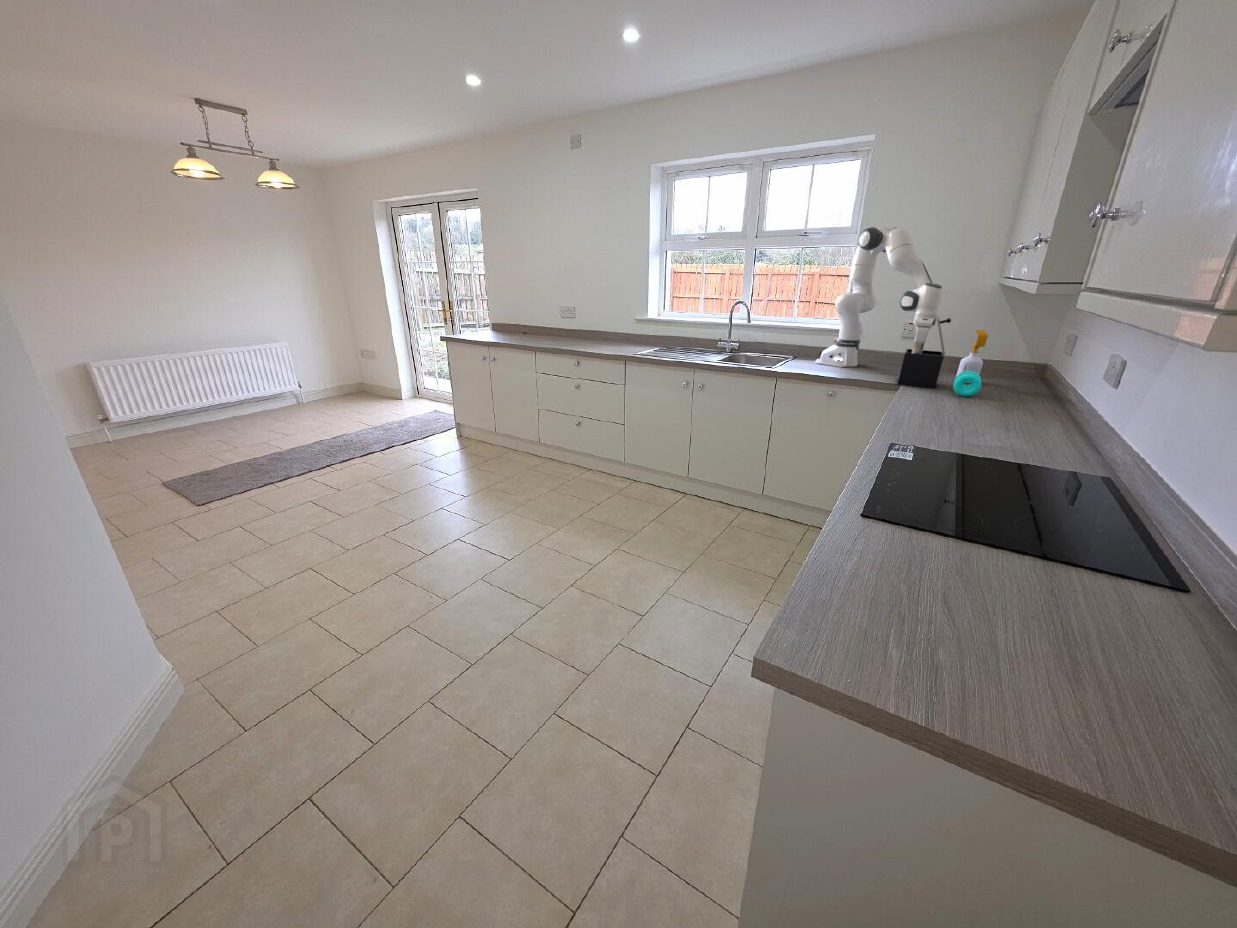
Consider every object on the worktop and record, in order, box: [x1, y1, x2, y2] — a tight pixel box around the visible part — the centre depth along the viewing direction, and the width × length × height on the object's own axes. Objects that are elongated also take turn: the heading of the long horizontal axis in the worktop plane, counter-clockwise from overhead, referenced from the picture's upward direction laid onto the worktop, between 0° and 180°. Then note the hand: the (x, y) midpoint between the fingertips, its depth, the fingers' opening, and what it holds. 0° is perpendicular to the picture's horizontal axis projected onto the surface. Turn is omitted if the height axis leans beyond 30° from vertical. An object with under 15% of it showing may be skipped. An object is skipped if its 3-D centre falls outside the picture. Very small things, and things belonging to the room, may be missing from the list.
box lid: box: [936, 316, 952, 356], centre depth 222 cm, size 16×13×5 cm
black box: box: [897, 348, 945, 390], centre depth 232 cm, size 16×13×15 cm
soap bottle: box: [955, 329, 989, 384], centre depth 235 cm, size 9×9×25 cm
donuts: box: [952, 371, 982, 397], centre depth 215 cm, size 10×10×10 cm
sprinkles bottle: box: [912, 338, 927, 354], centre depth 230 cm, size 5×5×13 cm
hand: (917, 350), depth 230 cm, fingers closed on sprinkles bottle, 4 cm apart
